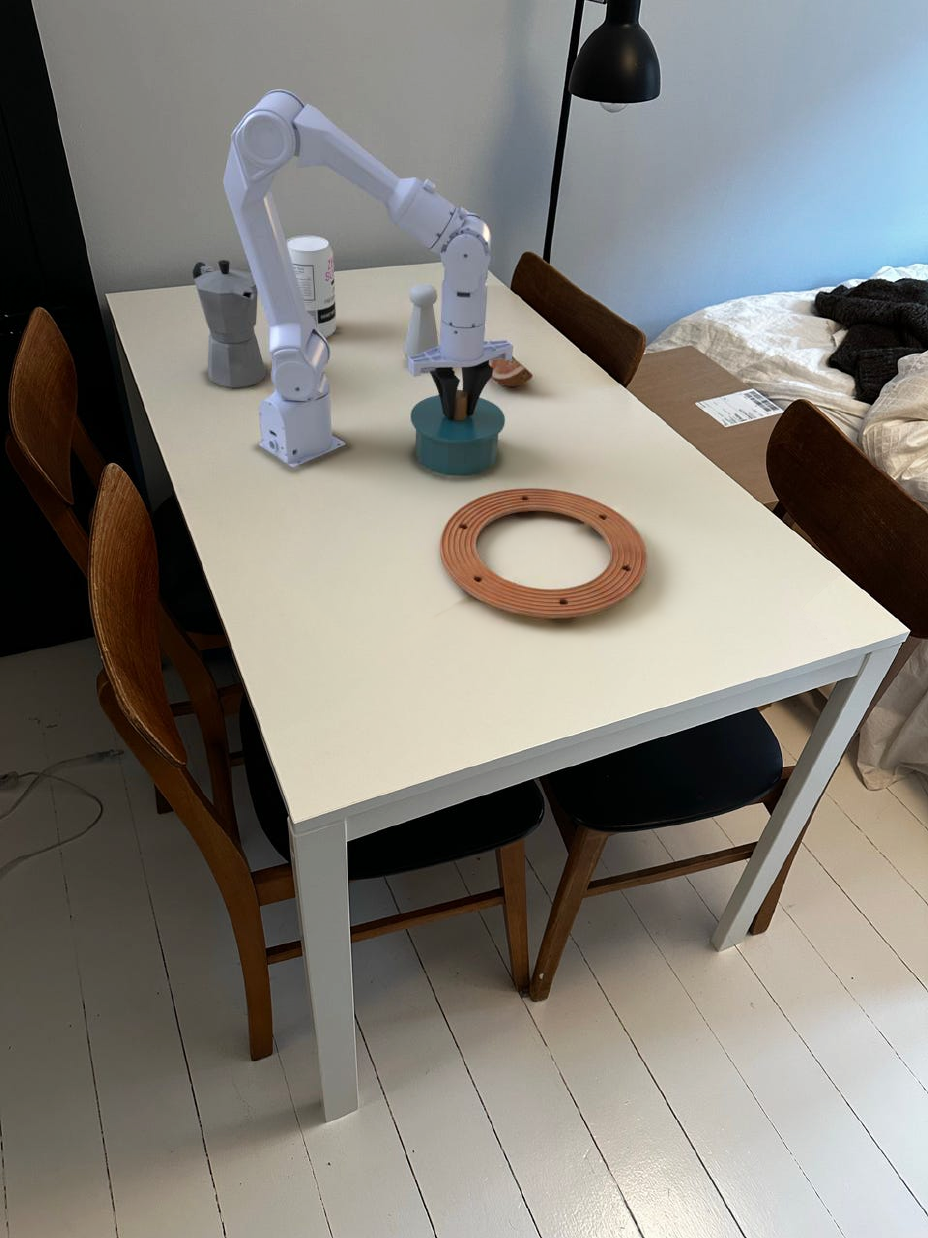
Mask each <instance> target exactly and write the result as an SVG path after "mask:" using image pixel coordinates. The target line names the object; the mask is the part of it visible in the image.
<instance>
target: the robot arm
mask: <svg viewBox="0 0 928 1238" xmlns="http://www.w3.org/2000/svg"><path fill="white" fill-rule="evenodd" d="M293 157H297V162H296V168H297V169H303V168H311V167H312V168H313V167H322V166H323V167H327V168H329V169H330V170H332V171H333V172H335V173H337V174H338V175H340V176H341V177H342V178H344V179H346V180H347V181H349V182H350V183H352V184H353V185H355V186H356V187H357V188H359V189H360V190H362V191H364V192H365V193H367V194H368V195H369V196H371V197H373V198H375V199H376V200H378V201H379V202H381V203H382V204H383V205H384V206H385V208H386V212H387V216H388V220H389V222H391V224H393V225H395V226H397V227H398V228H399V229H400V230H401V231H403V232H404V233H406V235H408V236H410V237H411V238H412V239H414V240H415V241H417V243H419V244H421V245H422V246H423V247H425V248H427V249H428V250H429V251H431V252H432V253H434V254H437V255H439V256H440V261H441V264H442V266H443V268H444V274H443V275H444V276H443V280H442V282H441V302H440V303H441V304H440V305H441V306H440V326H439V327H440V328H439V330H440V332H439V346H438V347H435V348H433V349H430V350H428V351H426V352H423V353H421V354H418V355H414V356H410V357H408V361H407V372H408V373H409V374H410V375H411V376H412V377H413V378H415V377H420V376H421V375H422V374H423V373H429V374H430V376H431V378H432V380H433V382H434V385H435V387H436V390H437V392H438V395H439V396H440V400H441V405H442V411H443V414H444V415H445V416H446V417H447V419H448V420H451V419H454V414H455V398H456V392H457V390H458V387H459V385H460V382H461V380H460V379H459V378H458V377H457V376H456V374H455V373H456V371H455V370H453V369H454V368H461V376H462V390H463V391H466V392H467V393H468V402H467V414H468V416H471V415H473V413H474V410H475V407H476V404H477V401H478V399H479V397H481V394H482V393H483V391H484V388H485V387H486V385H487V384H488V382H489V381H490V380H491V379H492V378H491V377H492V375H493V368H492V367H491V366H490V365H489V361H490V360H496V359H501V358H503V359H504V360H509V359H512V356H513V353H514V345H513V344H512V343H510V342H509V341H508V340H507V339H503V340H485V334H486V333H485V331H486V318H487V317H486V316H487V303H488V289H489V286H488V281H487V280H488V277H489V276H488V275H489V269H488V267H489V266H490V263H491V259H492V258H491V256H490V255H491V245H492V236H491V231H490V228H489V226H488V225H487V223H486V222H485V221H484V220H483V219H482V218H481V216H480V215H479V214H477V213H474V212H469V211H468V210H467V209H466V208H464V207H462V206H461V207H460V208H458V207H456V206H455V205H454V204H452V203H451V202H450V201H449V200H447V199H446V198H444V197H443V196H442V195H441V194H439V193H438V192H436V191H435V189H436V184H435V183H434V182H432V181H431V180H430V179H428V178H426V179H425V180H424V181H422V180H420V179H419V178H418V177H416V176H413V177H406V178H401V177H399V176H397V175H396V174H395V173H394V172H393V171H391V170H390V169H389V168H388V167H386V165H384V164H383V163H382V162H381V161H379V160H378V159H377V158H376V157H375V156H373V155H372V154H371V153H370V152H368V151H367V150H366V149H365V148H363V147H362V146H361V145H360V144H359V143H357V142H356V141H355V140H354V139H352V138H351V137H350V136H349V135H348V134H346V133H345V132H344V131H343V130H341V129H340V127H338V126H337V125H335V124H334V123H333V122H332V121H331V120H330V119H329V118H328V117H327V116H325V114H323V112H322V111H320V110H319V109H318V107H315V106H313V105H311V104H310V103H306V104H305V103H304V101H303V100H302V99H301V98H300V97H299V96H298V95H297V94H295V93H294V92H292V91H289V90H287V89H282V88H278V89H272V90H270V91H268V92H266V93H265V94H263V95H262V97H261V98H260V99H259V101H258V102H257V104H256V105H255V106H254V107H253V108H252V109H250V110H249V111H248V112H247V113H245V115H244V116H243V117H242V119H241V120H240V122H239V123H238V124H237V126H236V127H235V128H234V130H233V132H232V133H231V135H230V149H229V152H228V158H227V163H226V167H225V170H224V176H223V179H222V180H223V181H222V183H223V187H224V192H225V194H226V198H227V201H228V204H229V206H230V210H231V213H232V216H233V219H234V222H235V226H236V228H237V231H238V232H237V233H238V235H239V238H240V241H241V243H242V247H243V250H244V254H245V256H246V259H247V261H248V265H249V268H250V273H251V274H252V275H253V278H254V281H255V284H256V287H257V290H258V296H259V299H260V302H261V305H262V308H263V311H264V315H265V317H266V320H267V323H268V327H269V340H268V341H269V342H268V343H269V344H268V345H269V346H268V347H269V355H270V358H271V362H272V366H271V372H270V379H271V382H272V385H273V387H274V389H275V390H274V392H272V393H271V395H270V396H268V397H266V398H265V399H264V400H262V401H261V402H260V404H259V406H258V415H259V426H260V436H261V442H260V443H259V446H260V447H262V448H263V449H264V450H266V451H267V452H269V453H270V454H272V455H273V456H274V457H276V458H278V459H280V460H281V461H282V462H284V463H285V464H287V465H288V466H290V467H293V468H294V467H298V466H299V465H300V466H301V465H302V464H305V463H306V462H309V461H311V460H313V459H316V458H318V457H320V456H323V455H325V454H328V453H329V452H332V451H335V450H336V449H338V448H340V447H343V446H345V445H346V442H344V441H343V440H341V439H339V438H338V437H336V436H334V435H333V432H332V431H333V430H332V429H333V428H332V411H331V410H332V409H331V388H330V387H331V385H330V381H329V379H328V378H327V376H326V374H325V368H326V366H327V364H328V363H329V360H330V357H331V348H330V344H329V342H328V340H327V338H325V337H324V336H323V335H322V334H321V333H320V332H319V330H318V328H317V326H316V323H315V320H314V318H313V317H312V316H311V315H310V314H309V313H308V312H307V311H306V308H305V304H304V301H303V298H302V294H301V291H300V288H299V284H298V281H297V277H296V274H295V271H294V267H293V264H292V260H291V257H290V254H289V250H288V247H287V244H286V241H287V239H286V238H285V237H286V236H285V234H284V231H283V227H282V224H281V221H280V217H279V214H278V213H279V212H278V210H277V207H276V204H275V200H274V196H273V193H272V190H271V185H272V183H273V182H274V180H275V178H276V176H278V175H277V174H278V173H279V172H280V171H281V170H282V169H283V168H284V167H286V166H287V165H288V164H289V163H290V162H291V160H292V159H293Z"/></svg>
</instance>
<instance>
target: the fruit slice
mask: <svg viewBox="0 0 928 1238" xmlns="http://www.w3.org/2000/svg"><path fill="white" fill-rule="evenodd" d="M489 365H490V366H491V367H492V368H493V375H492V377H491V378H490V379H492V380H493V381H494V382H496V383H497V384H499V385H502V386H506V387H516V386H517V387H518V386H520V385H523V384H526V383H527V382H529V381H530V380H531V379H532V378H533V373H532V372H530V371H529V370H528V369H527V367H525V365H524V364H522V363H521V362H519V360H517V359H516V358H515V357H514V356H513V355H512V359H509V360H504V359H503V358H501V359H496V360H490V361H489Z"/></svg>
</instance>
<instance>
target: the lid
mask: <svg viewBox="0 0 928 1238" xmlns="http://www.w3.org/2000/svg"><path fill="white" fill-rule="evenodd" d="M467 402H468V393H467V392H466V391H463V389H457V392H456V398H455V414H454V419H451V420H448V419H447V417H446V416H445V415H444V414H443V411H442V405H441V400H440V396H439V394H437V395H432V396H429V397H426V398H424V399H422V400H420V401H418V403H416V404H415V405H414V406H413V408H411V412H410V422H411V425H412V426H413V428H414V429H415V431H416V430H417V431H418V432H420V433H421V434H423V435H425V436H426V437H429V438H431V439H434V440H437V441H441V442H446V443H453V444H470V443H477V442H482V441H485V440H488V439H491V438H493V437H494V436H496V435H498V436H499V434H500V433H501V432H502V431H503V429H504V427H505V423H506V417H505V414H504V411H503V410H502V409H501V408H500V407H499V406H497V404H495V403H494V402H491V401H490V400H488V399H485V398H483V397H481V396H479V399H478V401H477V404H476V407H475V410H474V413H473V415H471V416H468V414H467Z"/></svg>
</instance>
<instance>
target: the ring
mask: <svg viewBox="0 0 928 1238" xmlns="http://www.w3.org/2000/svg"><path fill="white" fill-rule="evenodd" d="M532 511H533V512H534V511H535V512H549V513H556V514H561V515H564V516H568V517H571V518H574V519H576V520H578V521H580V522H583V523H585V524H586V525H588V526H589V527H591V528H592V529H594V531H595V532H596V533H598V534H599V535H600V536H601V537H602V538H603V539H604V541H605V543H606V545H607V547H608V551H609V561H608V564H607V566H606V567H605V569H604V570H603V571H602V572H601V573H600V574H599V575H598V576H596V577H595V578H593V579H592V580H589V581H588V582H585V583H582V584H579V585H575V586H572V587H566V588H552V589H551V588H549V589H548V588H537V587H531V586H526V585H522V584H519V583H517V582H513V581H510V580H508V579H506V578H504V577H502V576H500V575H499V574H497V573H496V572H494V571H493V570H491V569H490V568H489V567H488V566H487V565H486V564H485V563H484V561H483V560H482V559H481V557H480V555H479V551H478V550H477V540H478V537H479V535H480V534H481V532H482V531H483V530H484V529H485V527H487V526H488V525H489V524H491V523H492V522H494V521H495V520H498V519H499V518H502V517H504V516H507V515H510V514H516V513H529V512H532ZM439 554H440V559H441V562H442V565H443V567H444V569H445V571H446V573H447V574H448V576H449V577H450V578H451V579H452V580H453V582H454V583H455V584H456V585H457V586H458V587H460V588H461V589H462V590H463V591H465V592H466V593H467V594H468V595H470V596H472V597H473V598H475V599H477V600H479V601H481V602H482V603H485V604H487V605H488V606H491V607H494V608H496V609H500V610H501V611H502V610H503V611H505V612H508V613H513V614H516V615H522V616H526V617H532V618H533V617H534V618H541V619H558V620H565V619H569V618H577V617H584V616H589V615H594V614H596V613H601V612H604V611H606V610H608V609H610V608H612V607H615V606H616V605H618V604H620V603H621V602H623V601H625V600H626V599H627V598H628V597H629V596H631V595H632V594H633V593H634V592H635V590H636V589H637V588H638V587H639V585H640V583H641V582H642V581H643V578H644V575H645V573H646V570H647V566H648V565H647V564H648V552H647V547H646V545H645V542H644V539H643V537H642V536H641V534H640V533H639V530H638V529H636V527H635V526H634V525H633V524H632V523H631V522H630V521H629V520H628V519H627V518H626V517H625V516H623V515H622V514H621V513H619V512H618V511H616V510H615V509H613V508H612V507H610V506H608V505H607V504H604V503H603V502H600V501H597V500H595V499H592V498H590V497H588V496H584V495H582V494H581V495H580V494H577V493H573V492H569V491H563V490H559V489H552V488H539V487H538V488H537V487H525V488H524V487H523V488H512V489H505V490H499V491H495V492H491V493H488V494H484V495H482V496H479V497H477V498H475V499H473V500H471V501H469V502H468V503H465V504H464V505H463V506H461V507H460V508H459V509H457V510H456V511H455V512H454V513H453V514H452V515H451V517H449V519H448V520H447V521H446V524H445V525H444V528H443V529H442V532H441V535H440V539H439Z"/></svg>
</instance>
